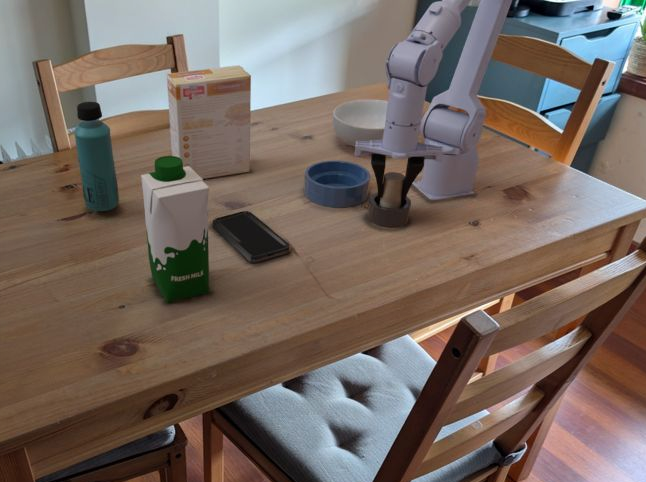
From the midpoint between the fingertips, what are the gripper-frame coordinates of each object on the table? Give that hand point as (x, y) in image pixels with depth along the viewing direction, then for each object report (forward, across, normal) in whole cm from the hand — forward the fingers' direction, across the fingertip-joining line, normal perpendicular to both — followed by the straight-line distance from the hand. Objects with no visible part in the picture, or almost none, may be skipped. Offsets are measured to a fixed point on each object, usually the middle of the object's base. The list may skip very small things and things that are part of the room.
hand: (391, 195), depth 122 cm
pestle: (+4, 0, 0) cm, 4 cm away
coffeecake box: (+5, -36, +15) cm, 39 cm away
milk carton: (+5, -32, -28) cm, 43 cm away
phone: (+5, -24, -11) cm, 26 cm away
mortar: (+5, 0, 0) cm, 5 cm away
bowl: (+5, -10, +8) cm, 14 cm away
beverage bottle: (+5, -52, -5) cm, 53 cm away
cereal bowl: (+5, -4, +35) cm, 36 cm away
